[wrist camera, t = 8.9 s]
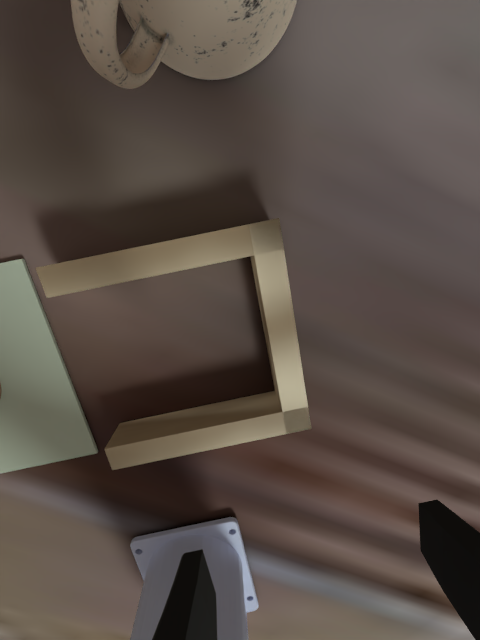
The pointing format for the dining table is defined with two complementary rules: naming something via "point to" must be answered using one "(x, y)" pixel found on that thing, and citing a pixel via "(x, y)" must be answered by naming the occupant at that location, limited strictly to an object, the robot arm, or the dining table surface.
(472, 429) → the dining table surface
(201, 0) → the teacup with lid
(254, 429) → the frame
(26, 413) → the felt mat
